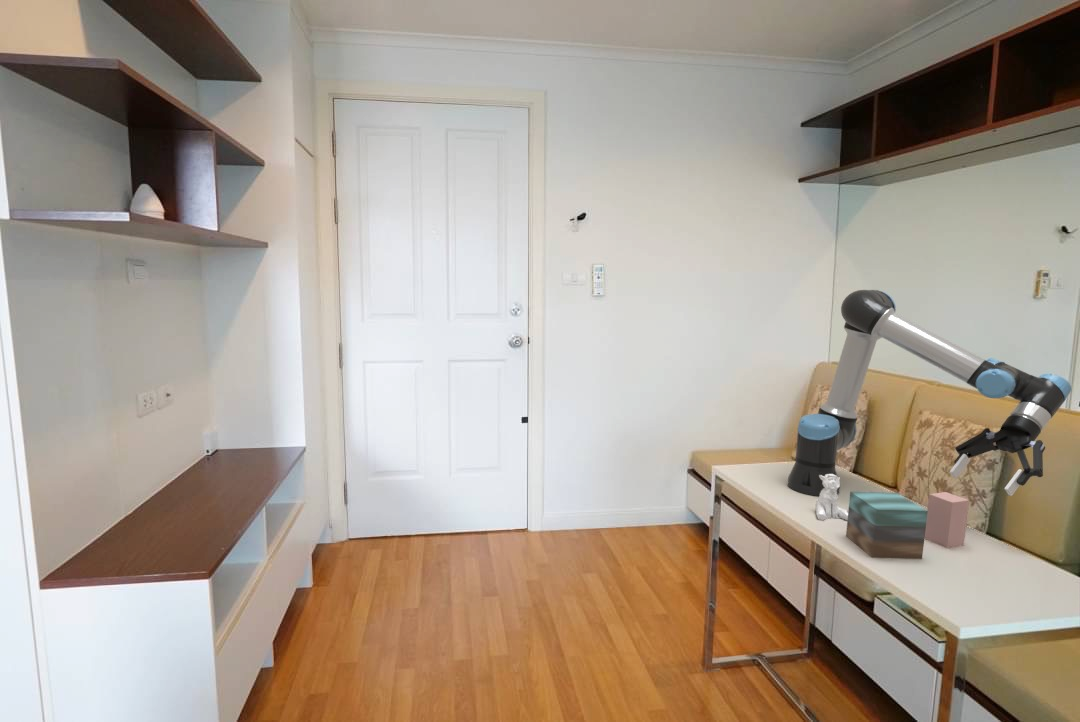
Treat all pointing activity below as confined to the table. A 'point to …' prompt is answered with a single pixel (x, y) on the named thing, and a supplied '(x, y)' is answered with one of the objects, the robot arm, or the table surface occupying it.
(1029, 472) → the robot arm
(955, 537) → the rose brick
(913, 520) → the teal topped wooden cube
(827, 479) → the sitting furry creature
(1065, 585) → the table surface
